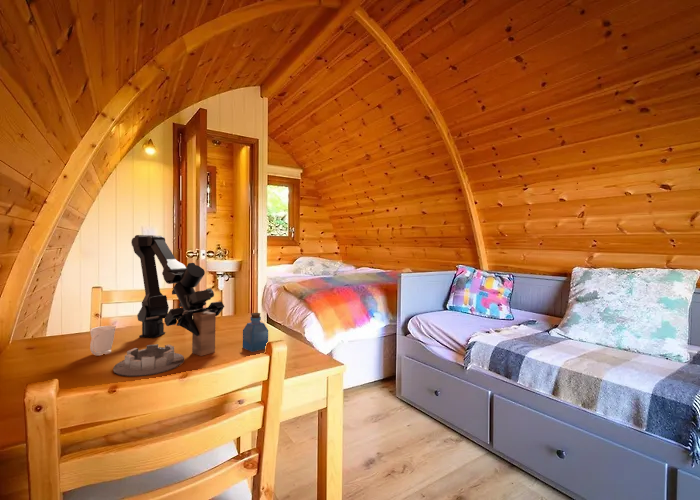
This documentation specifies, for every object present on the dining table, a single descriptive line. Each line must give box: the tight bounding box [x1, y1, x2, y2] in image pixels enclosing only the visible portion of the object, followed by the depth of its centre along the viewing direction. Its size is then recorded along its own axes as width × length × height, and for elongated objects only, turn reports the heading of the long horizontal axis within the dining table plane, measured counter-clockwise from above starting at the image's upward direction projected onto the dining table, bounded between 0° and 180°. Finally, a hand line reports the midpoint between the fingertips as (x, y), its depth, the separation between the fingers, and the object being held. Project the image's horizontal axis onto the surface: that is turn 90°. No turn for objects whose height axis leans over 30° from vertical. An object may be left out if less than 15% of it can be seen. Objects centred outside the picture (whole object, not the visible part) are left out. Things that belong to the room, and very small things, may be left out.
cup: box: [89, 325, 116, 357], centre depth 107 cm, size 7×10×8 cm
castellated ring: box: [113, 343, 185, 378], centre depth 99 cm, size 18×18×4 cm
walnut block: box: [191, 311, 217, 357], centre depth 110 cm, size 5×5×13 cm
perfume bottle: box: [242, 312, 269, 353], centre depth 116 cm, size 6×6×12 cm
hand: (206, 333), depth 110 cm, fingers closed on walnut block, 5 cm apart
